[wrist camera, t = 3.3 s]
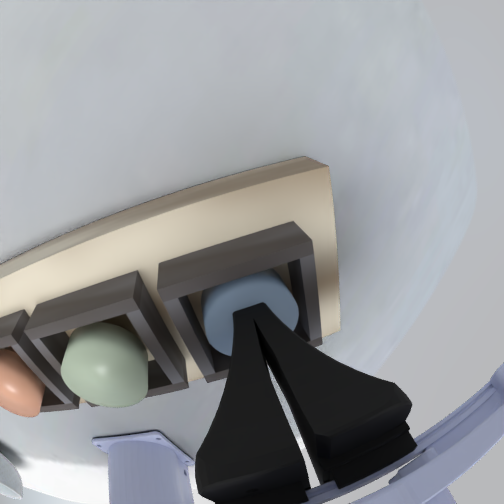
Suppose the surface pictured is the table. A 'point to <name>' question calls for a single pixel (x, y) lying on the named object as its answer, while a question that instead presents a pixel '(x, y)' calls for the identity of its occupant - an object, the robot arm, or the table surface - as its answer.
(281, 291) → the button blue
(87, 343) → the button sage
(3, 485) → the cereal bowl
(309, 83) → the table surface
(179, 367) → the button board
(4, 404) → the button terracotta
